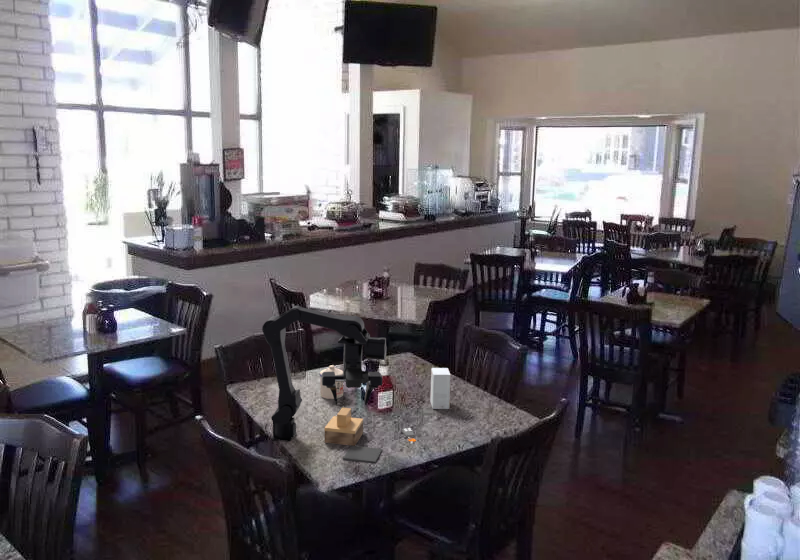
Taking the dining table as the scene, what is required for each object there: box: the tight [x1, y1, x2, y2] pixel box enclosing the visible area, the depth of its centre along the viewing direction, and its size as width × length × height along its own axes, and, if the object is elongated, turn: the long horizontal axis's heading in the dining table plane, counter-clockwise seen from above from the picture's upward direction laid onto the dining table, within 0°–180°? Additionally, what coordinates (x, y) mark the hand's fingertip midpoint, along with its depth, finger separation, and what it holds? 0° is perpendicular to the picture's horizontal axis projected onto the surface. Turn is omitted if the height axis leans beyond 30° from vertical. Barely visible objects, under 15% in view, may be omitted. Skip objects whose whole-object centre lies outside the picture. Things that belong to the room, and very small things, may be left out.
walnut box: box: [324, 422, 364, 446], centre depth 217 cm, size 10×10×4 cm
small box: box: [430, 367, 452, 410], centre depth 246 cm, size 8×6×13 cm
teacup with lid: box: [319, 364, 344, 400], centre depth 255 cm, size 12×9×12 cm
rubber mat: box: [342, 445, 383, 464], centre depth 205 cm, size 10×9×1 cm
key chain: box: [401, 427, 417, 444], centre depth 218 cm, size 13×4×2 cm, turn 13°
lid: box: [324, 407, 364, 434], centre depth 216 cm, size 10×10×6 cm
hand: (350, 404), depth 213 cm, fingers open, 9 cm apart
